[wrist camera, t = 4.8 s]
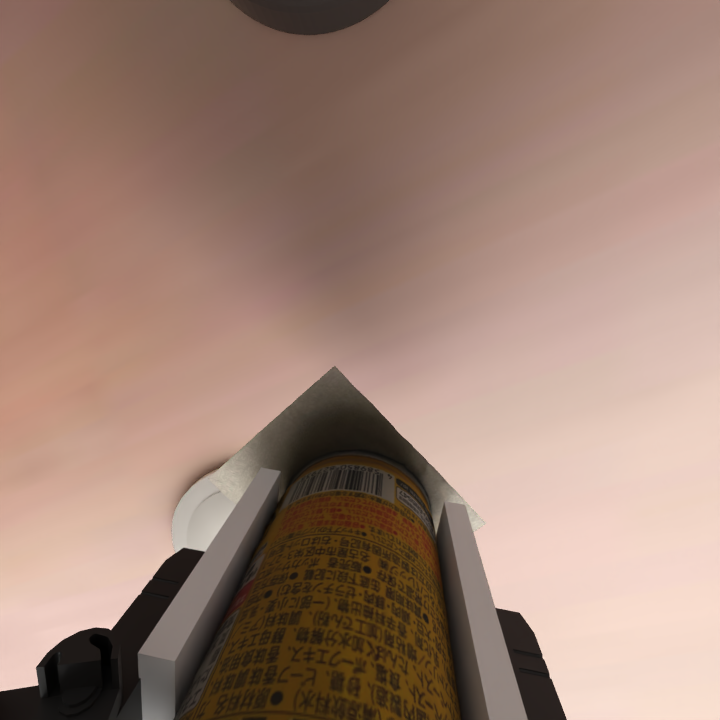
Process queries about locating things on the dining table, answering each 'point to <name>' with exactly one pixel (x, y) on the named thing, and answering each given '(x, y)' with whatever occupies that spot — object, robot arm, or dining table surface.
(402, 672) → the condiment
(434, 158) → the dining table surface
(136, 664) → the robot arm
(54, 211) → the dining table surface
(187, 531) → the plate
